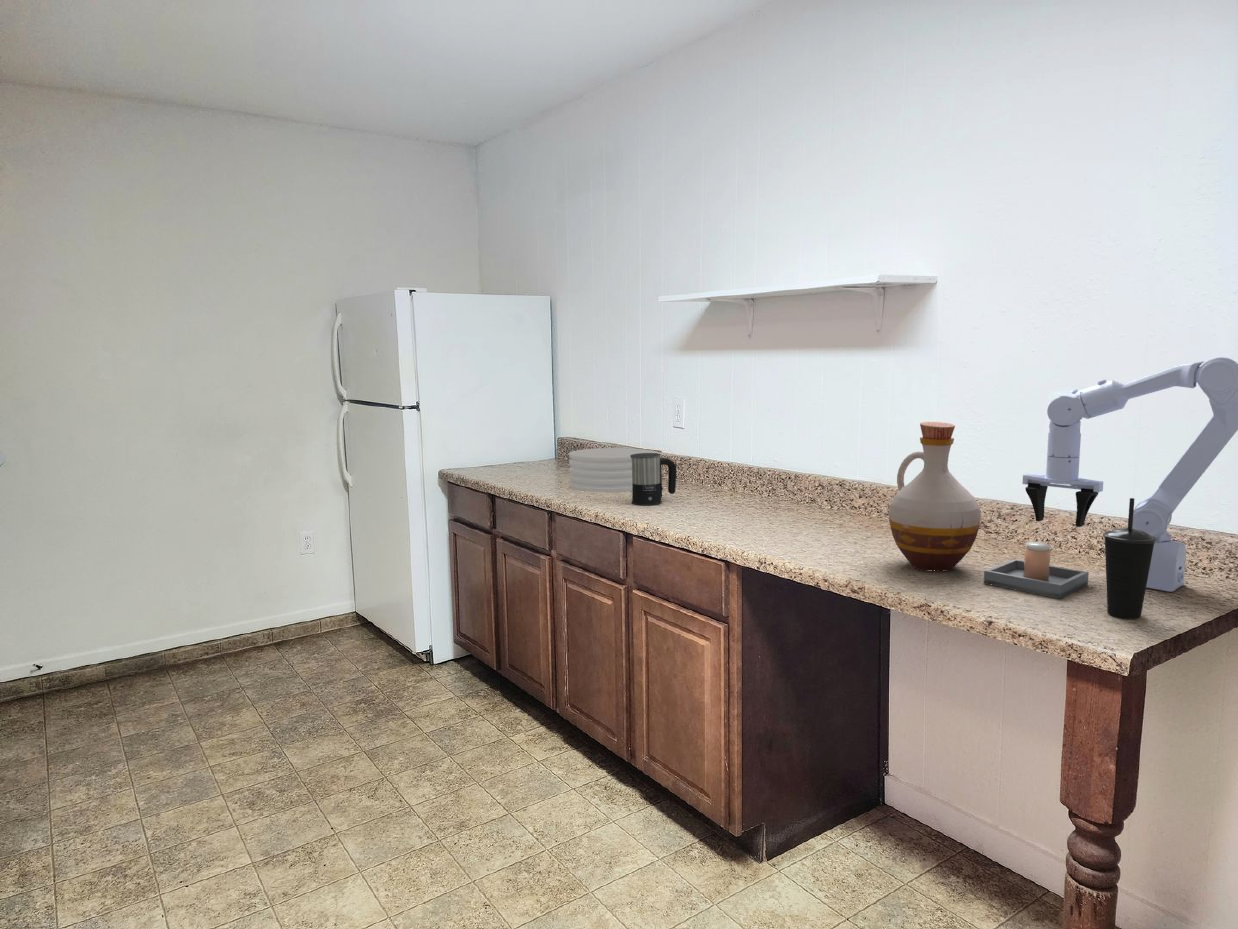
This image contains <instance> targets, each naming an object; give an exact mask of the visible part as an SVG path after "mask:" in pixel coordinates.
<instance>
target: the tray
mask: <svg viewBox="0 0 1238 929" xmlns="http://www.w3.org/2000/svg"><path fill="white" fill-rule="evenodd" d="M1023 573H1024V560H1021V559H1015V558H1014V559H1010V560H1008V561H1006V562H1003V563H1001V564H998V565H995V566H994V567H991V568H987V569H986V570H983V584H984V583H987V584H986V585H989V584H992V585H991V586H994V585H996V586H995V587H999V588H1000V587H1001V588H1005V589H1010V590H1014V589H1016V590H1015V591H1019V590H1020V591H1021V592H1024V593H1030V594H1035V595H1040V596H1045V597H1050V598H1055V599H1062V598H1065V597H1066V596H1068V595H1071V594H1073V593H1075V592H1076V591H1078V590H1080V589H1084V587H1087V586H1088V585H1089V571H1083V570H1078V569H1074V568H1073V569H1072V568H1066V567H1061V566H1056V565H1051V564H1050V569H1049V582H1047V581H1042V580H1036V579H1031V578H1026V577H1023Z"/></svg>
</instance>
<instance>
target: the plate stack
mask: <svg viewBox="0 0 1238 929" xmlns="http://www.w3.org/2000/svg"><path fill="white" fill-rule="evenodd" d="M638 453H652V451H650V450H648V449H643V448H631V447H630V448H629V447H598V448H596V447H595V448H585V449H578V450H574V451H570V452H569V453H568V458H569V462H568V463H569V466H570V467H569V473H570V474H569V480H570V482H569V487H570V488H571V489H573V490H577V491H582V492H591V493H593V492H594V493H624V492H632V458H631V457H630V456H631V455H632V454H638Z"/></svg>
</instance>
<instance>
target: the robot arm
mask: <svg viewBox="0 0 1238 929" xmlns="http://www.w3.org/2000/svg"><path fill="white" fill-rule="evenodd" d="M1197 385H1198V387H1199V388H1200V389H1201V390H1202V392H1203V393H1204V395H1206V396H1207V398H1208V401H1209V404H1210V407H1211V410H1212V414H1213V415H1212V417H1211V418H1210V419H1209V421H1208V422H1207V423H1206V425H1205V426H1204V427H1203V429H1202V430H1201V431H1200V433H1198V435H1197V436H1196V438H1195V439H1194V440H1193V441H1192V442H1191V444H1190V445H1189V447H1188V448H1187V449H1186V451H1185V452H1184V453H1183V454H1182V456H1181V457H1180V458H1179V460H1178V461H1177V462H1176V463H1175V465H1174V466H1173V467H1172V468H1171V469H1170V471H1169V473H1168V474H1167V475H1166V476H1165V478H1164V479H1163V480H1162V481H1161V482H1160V484H1159V485H1158V487H1157V488H1156V489H1155V490H1154V491H1153V493H1152V494H1151V496H1149V497H1148V498H1146V499H1144V500H1142V501H1140V502H1139V503H1137V504H1136V505H1135V506H1134V513H1133V527H1132V529H1137V530H1141V531H1144V532H1146V533H1148V534H1150V535H1151V536H1154V537H1156V539H1157V541H1156V542H1155V543H1154V547H1153V553H1152V558H1151V564H1150V569H1149V574H1148V580H1147V585H1146V589H1152V590H1153V589H1154V590H1158V591H1164V592H1171V593H1172V592H1175V591H1176V590H1177V589H1179V588H1181V587H1182V586H1184V585H1185V584H1186V582H1185V570H1186V560H1187V559H1186V558H1187V548H1186V544H1185V543H1184V542H1181V541H1175V540H1173V539H1172V537H1173V536H1172V535H1171V534H1170V533H1169V532H1168V530H1167V529H1168V527H1169V525H1170V523H1171V521H1172V519H1173V517H1172V516H1173V513H1174V512H1175V511H1176V509H1177V508H1178V506H1179V505H1180V503H1182V501H1183V500H1184V498H1185V497H1186V496H1187V494H1188V493H1190V490H1192V488H1193V487H1194V486H1195V484H1196V483H1197V482H1198V481H1199V480H1200V478H1201V477H1202V476H1203V475H1204V473H1205V472H1206V470H1207V469H1209V467H1210V465H1211V464H1212V463H1213V461H1215V459H1216V458H1217V457H1218V456H1219V454H1220V453H1221V452H1222V451H1223V449H1224V448H1225V447H1226V446H1227V444H1228V443H1229V441H1230V440H1231V439H1232V438H1233V437H1234V435H1235V434H1236V433H1237V432H1238V362H1236V361H1235V360H1233V359H1232V358H1229V357H1224V356H1223V357H1215V358H1212V359H1209V360H1207V361H1205V360H1202V361H1196V362H1191V363H1185V364H1181V365H1176V366H1173V367H1170V368H1167V369H1164V370H1161V371H1157V372H1156V373H1153V374H1150V375H1146V376H1144V377H1141V378H1138V379H1135V380H1132V381H1129V382H1127V383H1120V382H1119V381H1116V380H1113V379H1112V380H1109V381H1107V380H1106V379H1102V380H1099V381H1097V385H1093V386H1090V387H1087V388H1084V389H1080V390H1078V389H1074V390H1071V395H1069V394H1068V395H1067V394H1066V395H1059V397H1057V398H1054V399H1053V400H1052V401H1050V403H1049V404H1048V405H1047V406H1048V407H1047V411H1046V412H1047V414H1046V415H1047V417H1048V419H1049V420H1050V421H1049V426H1048V427H1049V432H1048V434H1047V452H1046V455H1047V456H1046V469H1045V474H1035V473H1033V474H1032V473H1026V474H1023V475H1022V482H1021V483H1022V485H1027V486H1026V487H1025V488H1024V489H1025V493H1026V494H1027V495H1028V497H1029V500H1030V502H1031V504H1032V508H1033V512H1034V517H1035V522H1042V521H1044V520H1045V519H1044V518H1045V504H1046V503H1045V501H1046V497H1047V496H1046V495H1047V492H1048V488H1049V487H1050V488H1051V487H1052V488H1053V487H1054V488H1062V489H1069V490H1070V489H1071V490H1079V491H1075V499H1076V516H1075V527H1078V528H1081V527H1084V526H1085V521H1086V519H1087V515H1088V513H1089V510H1090V508H1091V507H1092V504H1093V503H1094V501H1095V500H1096V498H1097V497H1098V495H1099V493H1102V492H1103V491H1104V480H1096V479H1094V480H1093V479H1087V478H1082V477H1079V472H1080V458H1081V457H1080V456H1081V440H1082V439H1081V438H1082V434H1081V423H1082V422H1081V420H1083V419H1092V418H1095V417H1099V416H1103V415H1105V414H1106V415H1107V414H1110V413H1113V412H1116V411H1119V410H1123V409H1124V408H1125V406H1126V404H1127V403H1128V401H1129V400H1131V399H1133V398H1134V399H1135V398H1138V397H1141V396H1144V395H1148V394H1152V393H1155V392H1159V391H1160V392H1161V391H1162V390H1166V389H1169V388H1173V387H1179V388H1189V389H1195V388H1196V387H1197Z"/></svg>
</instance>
